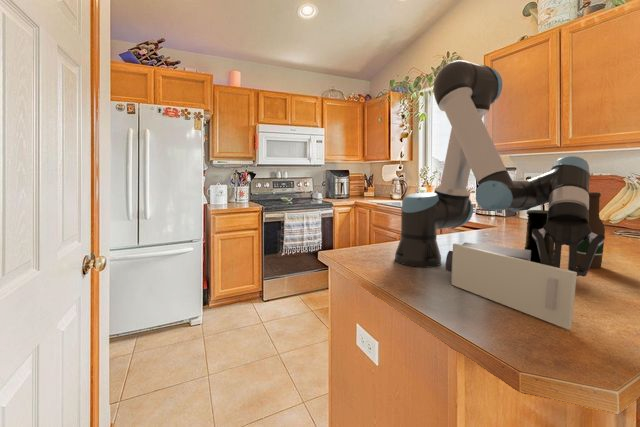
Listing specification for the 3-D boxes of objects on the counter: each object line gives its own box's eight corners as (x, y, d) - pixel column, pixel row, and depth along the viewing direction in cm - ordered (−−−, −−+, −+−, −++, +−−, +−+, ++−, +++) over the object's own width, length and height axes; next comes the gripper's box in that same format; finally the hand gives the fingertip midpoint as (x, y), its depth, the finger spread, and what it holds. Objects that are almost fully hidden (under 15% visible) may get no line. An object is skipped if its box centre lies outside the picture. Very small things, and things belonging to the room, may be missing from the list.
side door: (571, 328, 59) (577, 272, 58) (564, 330, 58) (570, 274, 57) (453, 283, 84) (455, 243, 83) (446, 284, 83) (448, 244, 82)
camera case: (528, 287, 82) (531, 250, 81) (524, 299, 74) (527, 258, 73) (452, 273, 94) (454, 241, 92) (442, 282, 86) (444, 247, 84)
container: (543, 262, 106) (548, 209, 104) (561, 269, 97) (566, 212, 95) (515, 261, 107) (520, 209, 105) (530, 269, 98) (535, 212, 96)
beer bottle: (595, 270, 96) (603, 193, 93) (566, 264, 103) (573, 192, 100) (606, 267, 100) (615, 192, 97) (577, 261, 107) (584, 191, 104)
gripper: (602, 222, 71) (603, 318, 60) (533, 218, 79) (523, 302, 68) (608, 201, 66) (609, 301, 55) (534, 198, 74) (522, 286, 63)
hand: (562, 302), depth 62 cm, fingers closed
